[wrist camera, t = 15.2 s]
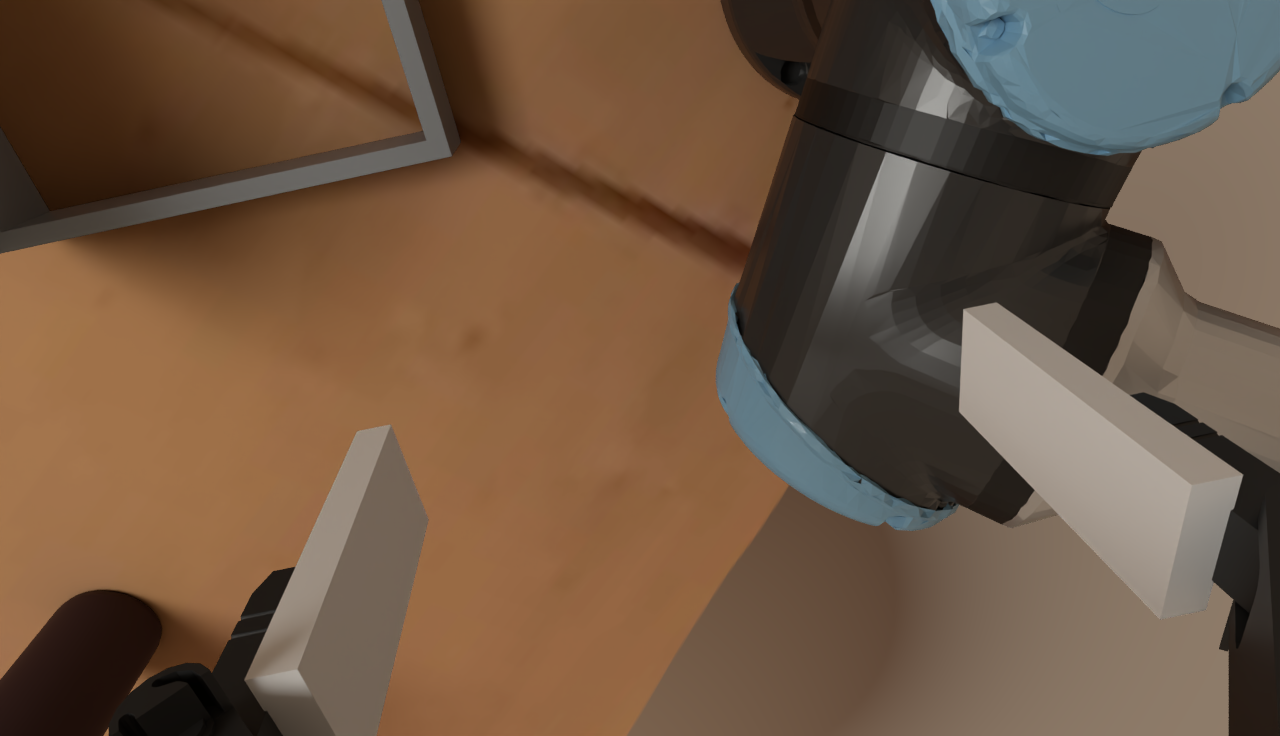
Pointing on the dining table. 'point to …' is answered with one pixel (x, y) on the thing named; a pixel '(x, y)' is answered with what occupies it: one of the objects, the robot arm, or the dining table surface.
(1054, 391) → the robot arm
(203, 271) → the dining table surface
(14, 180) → the case
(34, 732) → the wine bottle
